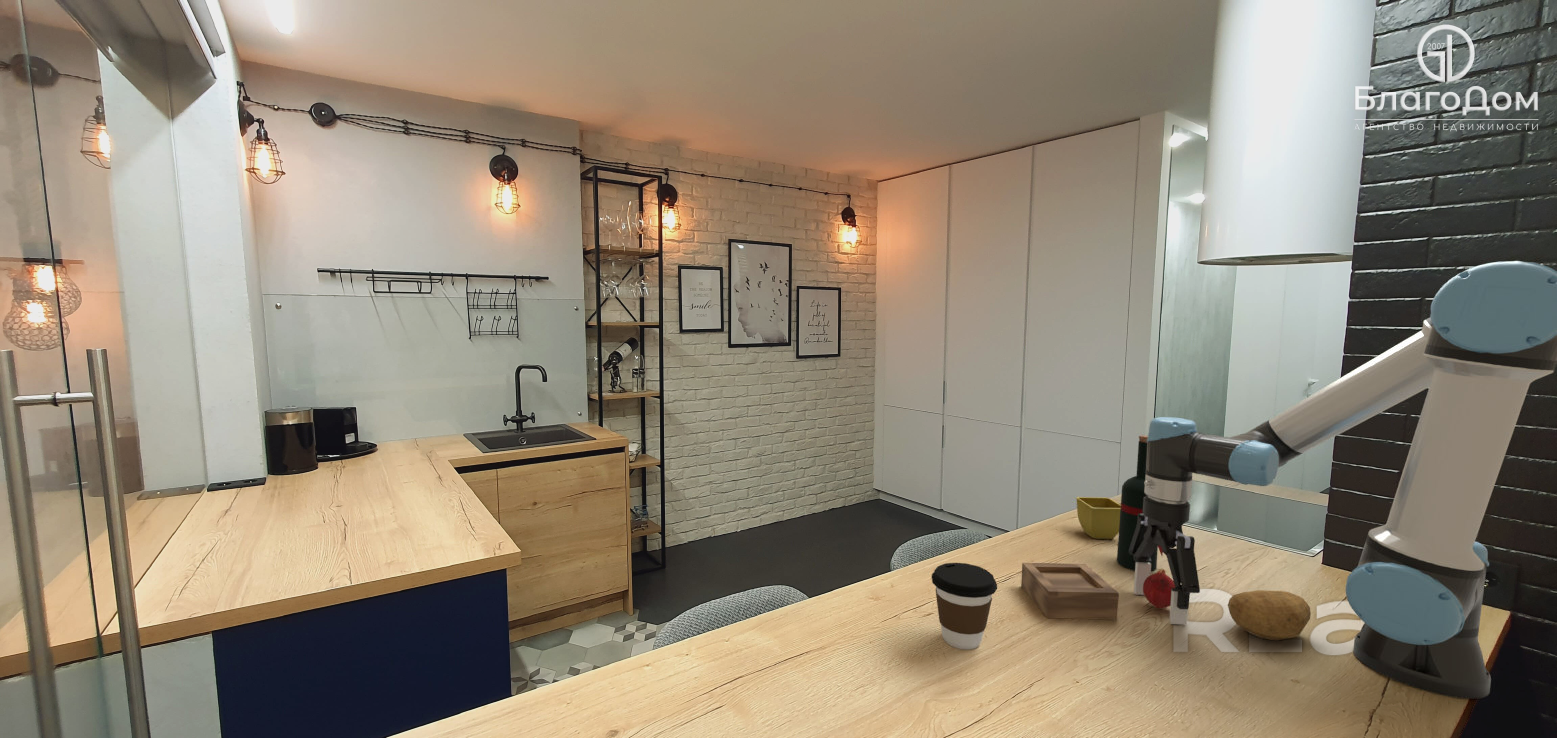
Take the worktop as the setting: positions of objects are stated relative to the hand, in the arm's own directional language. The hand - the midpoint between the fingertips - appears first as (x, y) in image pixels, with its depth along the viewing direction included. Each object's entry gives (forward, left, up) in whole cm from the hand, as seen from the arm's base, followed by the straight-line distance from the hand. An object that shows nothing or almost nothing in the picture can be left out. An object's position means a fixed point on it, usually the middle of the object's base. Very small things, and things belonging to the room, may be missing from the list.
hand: (1158, 607), depth 117 cm
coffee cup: (-13, +42, 0) cm, 44 cm away
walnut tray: (+2, +17, 0) cm, 17 cm away
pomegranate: (0, 0, 0) cm, 0 cm away
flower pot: (+39, -8, 0) cm, 40 cm away
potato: (-9, -14, 0) cm, 17 cm away
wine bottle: (+20, -8, 0) cm, 21 cm away
